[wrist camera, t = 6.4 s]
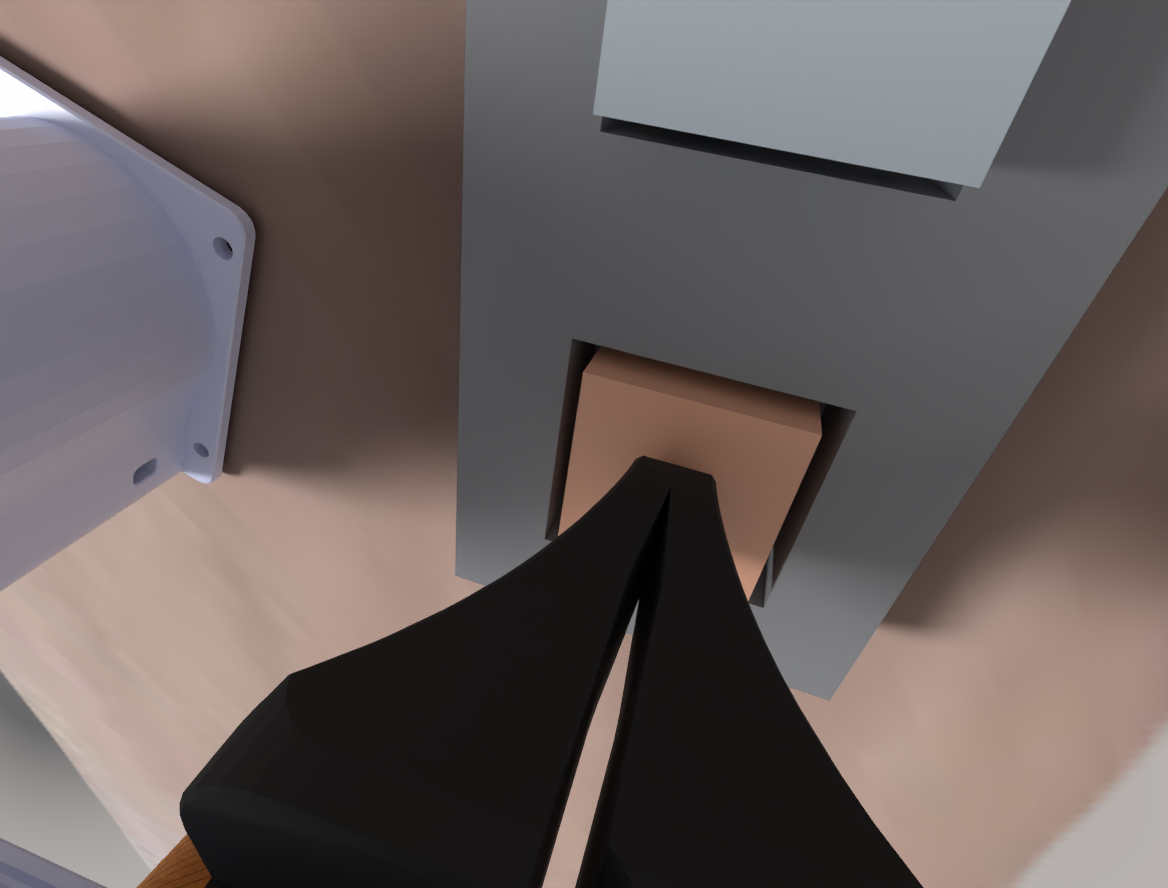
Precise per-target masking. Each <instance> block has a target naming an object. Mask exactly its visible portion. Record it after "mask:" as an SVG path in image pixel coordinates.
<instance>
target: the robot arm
mask: <svg viewBox="0 0 1168 888" xmlns="http://www.w3.org/2000/svg"><path fill="white" fill-rule="evenodd" d="M226 241H227V242H228V243H229V244H230V246H231V248H232V251H233V252H232V251H231V250H230V249H229V247H228V245H227V242H226ZM254 245H255V228H254V225H253V223H252V220H251V219H250V218H249V216H248V215H247V213H246V212H245V211H244V210H242V209H241V208H240V207H239V206H237V205H236V204H234V203H233V202H231V201H229V200H228V199H226V198H225V197H223V196H221V195H220V194H218V193H217V192H215V191H213V190H212V189H210V188H209V187H207V186H206V185H204V184H202V183H201V182H199V181H198V180H196V179H194V178H193V177H191V176H190V175H188V174H187V173H185V172H183V171H182V170H180V169H179V168H177V167H175V166H174V165H172V164H171V163H169V162H167V161H166V160H164V159H163V158H161V157H160V156H158V155H156V154H155V153H153V152H152V151H150V150H148V149H147V148H145V147H144V146H142V145H141V144H139V143H137V142H136V141H134V140H133V139H131V138H129V137H128V136H126V135H125V134H123V133H121V132H120V131H118V130H117V129H115V128H114V127H112V126H110V125H109V124H107V123H106V122H104V121H102V120H101V119H99V118H98V117H96V116H95V115H93V114H91V113H90V112H88V111H87V110H85V109H83V108H82V107H80V106H79V105H77V104H75V103H74V102H72V101H71V100H69V99H68V98H66V97H64V96H63V95H61V94H60V93H58V92H56V91H55V90H53V89H52V88H50V87H49V86H47V85H45V84H44V83H42V82H41V81H39V80H37V79H36V78H34V77H33V76H31V75H29V74H28V73H26V72H25V71H23V70H22V69H20V68H18V67H17V66H15V65H14V64H12V63H10V62H9V61H7V60H6V59H4V58H3V57H1V56H0V591H2V590H3V589H5V588H6V587H8V586H9V585H11V584H12V583H14V582H15V581H17V580H18V579H20V578H21V577H23V576H24V575H26V574H27V573H29V572H30V571H32V570H33V569H35V568H36V567H38V566H39V565H41V564H42V563H44V562H45V561H47V560H48V559H50V558H51V557H53V556H54V555H56V554H57V553H59V552H60V551H62V550H63V549H65V548H66V547H68V546H69V545H71V544H72V543H74V542H75V541H77V540H78V539H80V538H81V537H83V536H84V535H86V534H87V533H89V532H90V531H92V530H93V529H95V528H96V527H98V526H99V525H101V524H102V523H104V522H105V521H107V520H108V519H110V518H111V517H113V516H114V515H116V514H117V513H119V512H120V511H122V510H124V509H125V508H127V507H128V506H130V505H131V504H133V503H134V502H136V501H137V500H139V499H140V498H142V497H143V496H145V495H146V494H148V493H149V492H151V491H152V490H154V489H155V488H157V487H158V486H160V485H161V484H163V483H164V482H166V481H167V480H169V479H170V478H172V477H173V476H175V475H176V474H178V473H179V472H181V471H183V472H184V473H186V474H188V475H189V476H191V477H193V478H194V479H196V480H198V481H200V482H202V483H207V484H210V483H212V482H214V481H215V480H216V479H218V478H219V477H220V476H221V474H222V467H223V460H224V453H225V446H226V440H227V433H228V426H229V419H230V412H231V405H232V398H233V391H234V384H235V377H236V370H237V363H238V356H239V349H240V342H241V335H242V328H243V321H244V314H245V307H246V300H247V294H248V287H249V280H250V273H251V266H252V259H253V252H254ZM638 600H639V602H638ZM637 603H638V608H637V614H636V620H635V626H634V631H633V637H632V643H631V649H630V655H629V661H628V667H627V673H626V679H625V685H624V691H623V697H622V702H621V708H620V714H619V719H618V724H617V729H616V733H615V738H614V742H613V746H612V750H611V754H610V758H609V762H608V765H607V769H606V773H605V777H604V781H603V784H602V788H601V792H600V796H599V800H598V803H597V807H596V811H595V815H594V819H593V822H592V826H591V830H590V834H589V838H588V841H587V845H586V849H585V853H584V856H583V860H582V864H581V868H580V872H579V875H578V879H577V883H576V887H575V888H923V887H922V885H921V884H920V883H919V881H918V880H917V879H916V877H915V876H914V875H913V873H912V872H911V871H910V870H909V868H908V867H907V866H906V864H905V863H904V862H903V860H902V859H901V858H900V857H899V855H898V854H897V853H896V851H895V850H894V849H893V847H892V846H891V845H890V844H889V842H888V841H887V840H886V838H885V837H884V836H883V834H882V833H881V832H880V830H879V829H878V828H877V827H876V825H875V824H874V822H873V821H872V820H871V818H870V817H869V815H868V814H867V812H866V811H865V809H864V808H863V807H862V805H861V804H860V802H859V801H858V799H857V798H856V796H855V795H854V793H853V792H852V790H851V789H850V787H849V786H848V785H847V783H846V782H845V780H844V779H843V777H842V776H841V774H840V773H839V771H838V769H837V768H836V766H835V765H834V763H833V761H832V760H831V758H830V756H829V755H828V753H827V752H826V750H825V748H824V747H823V745H822V743H821V742H820V740H819V738H818V737H817V735H816V734H815V732H814V730H813V729H812V727H811V725H810V724H809V722H808V721H807V719H806V717H805V716H804V714H803V712H802V711H801V709H800V707H799V706H798V704H797V702H796V700H795V698H794V697H793V695H792V693H791V691H790V689H789V687H788V685H787V684H786V682H785V680H784V678H783V676H782V674H781V672H780V670H779V669H778V667H777V664H776V662H775V660H774V658H773V656H772V654H771V652H770V650H769V648H768V646H767V644H766V642H765V640H764V638H763V635H762V633H761V631H760V629H759V626H758V624H757V622H756V619H755V617H754V615H753V612H752V610H751V607H750V605H749V602H748V599H747V597H746V594H745V592H744V589H743V587H742V584H741V581H740V578H739V575H738V572H737V569H736V566H735V563H734V560H733V557H732V553H731V550H730V547H729V544H728V540H727V537H726V533H725V529H724V525H723V521H722V517H721V512H720V507H719V502H718V496H717V488H716V481H715V479H714V478H713V476H712V475H711V474H707V473H704V472H700V471H697V470H693V469H689V468H686V467H682V466H679V465H675V464H672V463H668V462H664V461H661V460H657V459H654V458H650V457H647V456H641V457H639V458H636V459H635V460H634V462H633V463H632V465H631V466H630V468H629V469H628V470H627V471H626V473H625V474H624V475H623V476H622V477H621V478H620V480H619V481H618V482H617V483H616V484H615V485H614V486H613V487H612V488H611V489H610V490H609V491H608V492H607V493H606V494H605V495H604V496H603V497H602V498H601V499H600V500H599V501H598V502H597V503H596V504H595V505H594V506H593V507H592V508H591V509H590V510H589V511H587V512H586V513H585V514H584V515H583V516H582V517H581V518H580V519H579V520H578V521H576V522H575V523H574V524H573V525H571V526H570V527H569V528H568V529H567V530H565V531H564V532H563V533H562V534H560V535H559V536H558V537H557V538H556V539H554V540H553V541H552V542H551V543H549V544H548V545H547V546H545V547H544V548H543V549H541V550H540V551H539V552H537V553H536V554H535V555H533V556H532V557H530V558H529V559H527V560H526V561H525V562H523V563H522V564H520V565H519V566H517V567H516V568H514V569H513V570H511V571H510V572H508V573H507V574H505V575H503V576H502V577H500V578H499V579H497V580H495V581H494V582H492V583H490V584H488V585H487V586H485V587H483V588H482V589H480V590H478V591H477V592H475V593H473V594H472V595H470V596H468V597H466V598H465V599H463V600H461V601H459V602H457V603H455V604H454V605H452V606H450V607H448V608H446V609H444V610H442V611H440V612H438V613H436V614H433V615H431V616H429V617H427V618H425V619H423V620H421V621H419V622H417V623H415V624H412V625H410V626H408V627H406V628H404V629H402V630H400V631H398V632H396V633H394V634H391V635H389V636H387V637H385V638H382V639H380V640H378V641H375V642H373V643H371V644H368V645H365V646H363V647H360V648H358V649H355V650H352V651H350V652H347V653H345V654H342V655H340V656H337V657H334V658H332V659H329V660H327V661H324V662H321V663H319V664H316V665H314V666H311V667H308V668H306V669H303V670H300V671H297V672H295V673H292V674H289V675H288V676H287V677H286V678H285V679H284V680H283V681H282V682H281V683H280V684H279V685H278V686H277V687H276V688H275V689H274V690H273V691H272V692H271V693H270V694H269V695H268V696H267V697H266V698H265V699H264V700H263V701H262V702H261V703H260V704H259V705H258V706H257V707H256V708H255V709H254V710H253V711H252V712H251V713H250V714H249V715H248V716H247V717H246V718H245V719H244V720H243V721H242V722H241V724H240V725H239V726H238V727H237V728H236V730H235V731H234V732H233V733H232V734H231V736H230V737H229V738H228V739H227V740H226V742H225V743H224V744H223V745H222V746H221V748H220V749H219V750H218V751H217V752H216V754H215V755H214V756H213V757H212V758H211V760H210V761H209V762H208V763H207V764H206V766H205V767H204V768H203V769H202V770H201V772H200V773H199V774H198V775H197V776H196V778H195V779H194V780H193V781H192V782H191V784H190V785H189V786H188V787H187V789H186V790H185V791H184V792H183V795H182V798H181V801H180V817H181V819H182V822H183V825H184V828H185V830H186V832H187V834H188V836H189V838H190V839H191V841H192V843H193V845H194V846H195V848H196V850H197V852H198V854H199V855H200V857H201V859H202V861H203V863H204V864H205V866H206V868H207V870H208V871H209V873H210V875H211V879H210V880H209V882H208V883H207V884H206V886H205V887H204V888H542V886H543V882H544V879H545V875H546V872H547V868H548V865H549V862H550V858H551V855H552V851H553V848H554V845H555V841H556V838H557V834H558V831H559V828H560V824H561V821H562V817H563V814H564V811H565V807H566V804H567V800H568V797H569V793H570V790H571V787H572V783H573V780H574V777H575V773H576V770H577V766H578V763H579V760H580V756H581V753H582V749H583V746H584V743H585V739H586V736H587V732H588V729H589V727H590V724H591V721H592V718H593V715H594V712H595V709H596V707H597V704H598V701H599V699H600V696H601V694H602V691H603V689H604V686H605V684H606V681H607V679H608V676H609V674H610V671H611V669H612V666H613V663H614V661H615V658H616V656H617V653H618V651H619V648H620V646H621V643H622V641H623V638H624V636H625V633H626V631H627V628H628V625H629V623H630V620H631V618H632V615H633V613H634V610H635V608H636V605H637ZM0 888H107V887H104V886H102V885H100V884H98V883H96V882H94V881H92V880H89V879H87V878H85V877H83V876H81V875H79V874H77V873H74V872H72V871H70V870H68V869H66V868H64V867H62V866H59V865H57V864H55V863H53V862H51V861H49V860H47V859H44V858H42V857H40V856H38V855H36V854H33V853H31V852H29V851H27V850H25V849H23V848H21V847H19V846H16V845H14V844H12V843H10V842H8V841H5V840H4V839H1V838H0Z"/></svg>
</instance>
